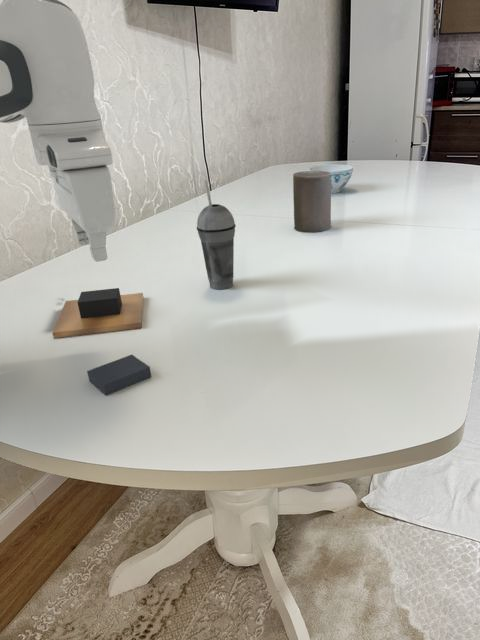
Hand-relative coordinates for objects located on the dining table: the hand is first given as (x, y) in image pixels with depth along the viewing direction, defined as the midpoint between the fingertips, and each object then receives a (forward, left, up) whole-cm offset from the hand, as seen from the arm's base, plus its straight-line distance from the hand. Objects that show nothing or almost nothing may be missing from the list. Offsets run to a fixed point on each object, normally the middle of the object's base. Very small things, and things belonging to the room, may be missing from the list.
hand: (92, 251), depth 73 cm
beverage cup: (+19, +22, -15) cm, 33 cm away
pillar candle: (+47, +58, -15) cm, 77 cm away
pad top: (+2, -13, -15) cm, 20 cm away
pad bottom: (-3, +13, -14) cm, 20 cm away
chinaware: (+65, +102, -15) cm, 122 cm away
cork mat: (-3, +13, -15) cm, 20 cm away
